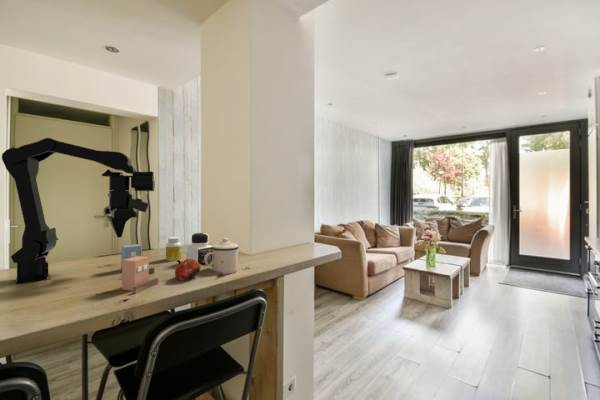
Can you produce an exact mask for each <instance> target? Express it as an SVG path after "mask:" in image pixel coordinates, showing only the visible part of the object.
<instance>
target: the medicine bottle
mask: <svg viewBox="0 0 600 400" xmlns="http://www.w3.org/2000/svg"><path fill="white" fill-rule="evenodd" d="M212 246H213V245H211V244H209V234H208V233H206V232H195V233H193V234H192V235H191V245H188V246H186V249H185V250H186V254H185V255H186V259H194V260H196V261H197V262H198V263H199V264H200V265H201V267H206V266H207V265H206V264H205V261H204V257H205V255H206V254H207V253H209V252H213V249H212ZM212 256H213V254H211V255H209V256H208V257H207V262H208V264H212ZM186 259H185V260H186ZM207 267H208V266H207Z"/></svg>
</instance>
